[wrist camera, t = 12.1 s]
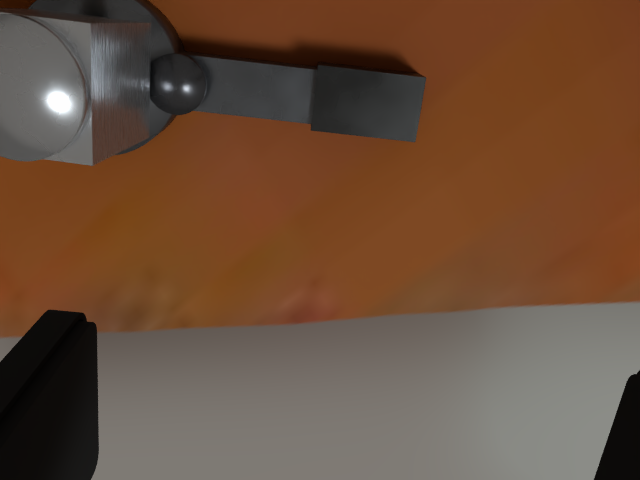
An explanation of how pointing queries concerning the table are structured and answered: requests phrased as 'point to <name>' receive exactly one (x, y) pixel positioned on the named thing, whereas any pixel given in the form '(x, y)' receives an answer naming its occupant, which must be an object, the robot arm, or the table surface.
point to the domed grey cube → (72, 85)
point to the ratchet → (262, 83)
